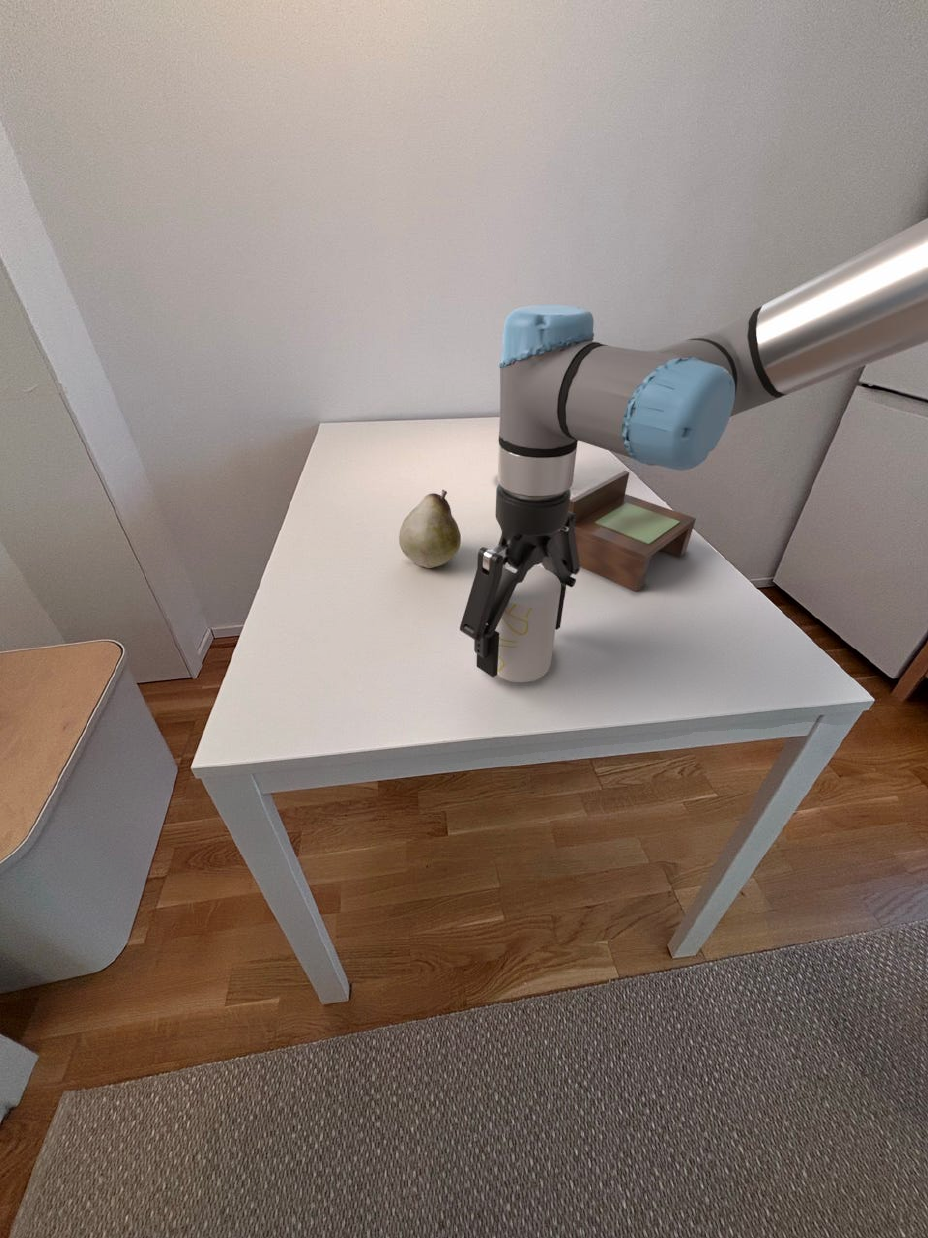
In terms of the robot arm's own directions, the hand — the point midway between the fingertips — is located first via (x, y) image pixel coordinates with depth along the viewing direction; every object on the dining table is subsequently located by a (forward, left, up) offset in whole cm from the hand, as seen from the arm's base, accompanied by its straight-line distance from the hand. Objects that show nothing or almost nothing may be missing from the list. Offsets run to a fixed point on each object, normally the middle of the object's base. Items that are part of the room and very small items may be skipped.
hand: (520, 646), depth 66 cm
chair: (+4, -32, -2) cm, 32 cm away
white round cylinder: (0, 0, -3) cm, 3 cm away
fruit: (+26, -8, -3) cm, 27 cm away
